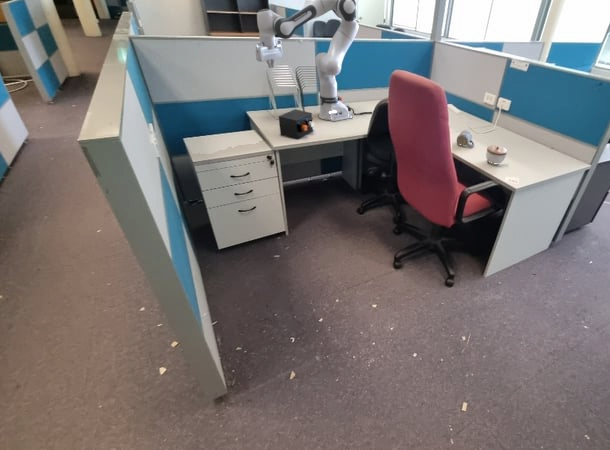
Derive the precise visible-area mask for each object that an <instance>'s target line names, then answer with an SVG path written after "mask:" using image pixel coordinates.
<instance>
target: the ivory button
mask: <svg viewBox="0 0 610 450" xmlns="http://www.w3.org/2000/svg"><path fill="white" fill-rule="evenodd" d="M308 125H309V127H313V128H314V126H315V122H314V121H312V122H311V121H310V122H309V124H308Z"/></svg>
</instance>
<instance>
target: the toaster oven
mask: <svg viewBox="0 0 610 450" xmlns="http://www.w3.org/2000/svg"><path fill="white" fill-rule="evenodd" d="M277 118H278V125H279V132H280V133H279V134H280V136H283V137H288V138H291V139H296V140H299V139H301V138H302V137H305V136H306V135H308V134H310V133H312V132H313V131H314V129H313V128H314V126H313V127H309V125H308V124H309V122H310V121H311V122H313V114H312V112H310V111H304V110H301V109H300V110H299V109H292V110H290V111H288V112H285V113H283V114H281V115H278V117H277ZM302 125H307V130H306V131H304V130H302Z"/></svg>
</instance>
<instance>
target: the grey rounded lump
mask: <svg viewBox="0 0 610 450" xmlns="http://www.w3.org/2000/svg"><path fill="white" fill-rule="evenodd" d="M472 139H473V134H472V132H470V131H469V130H463V131H461V132H460V133H459V134H458V136H457V137H456V143H457V145H459V144H461V145H459V146H460V147H464V146H463V145H465V146H467V147H468V148H474V146H475V142H474V141H473V140H472ZM471 143H472V144H471Z"/></svg>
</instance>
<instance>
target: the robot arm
mask: <svg viewBox="0 0 610 450" xmlns="http://www.w3.org/2000/svg"><path fill="white" fill-rule="evenodd" d="M357 5H358V4H357V2H356V0H305V1H304V5H303V7H302V8H301V9H300V10H299V11H297V12H296V13H294V14H292V15H291V16H289V17H284V16H282V15H280V14H278V13H276V12H274V11H273V10H271V8H262V9H259V10H258V11H257V13H256V21H257V28H258V31H259V32H258V33H259V34H258V36H259V42H258V43H257V44H256V45H255V58H256V61H257V62H261V63H263V62H266V64H267V67H268V68H269V69H272V68H274V67H275V61H276V60H277V59H282V58H283V56H284V52H283V51H284V50H283V46H282V44H283V42H282V39H283V40H288V39H291V37H293V36H294V34H295V32H296V30H298V29H299V28H301V27H302V26H304V25H305V24H306V23H308V22H310V21H312V20H314V19H316V18H320V17H321V16H324V15H325V14H326V13H328V12H330V11H332V12H333V14H334V15H335V16H336V17H337V18H339V19H340V20H341V21H340V24H339V26H338V28H337V30H336V31H335V33H334V35H333V36H332V38H331V40H330V42H329V47H328V50H327V52H318V54H316V56H315V59H314V62H315V65H316V71H317V76H318V82H319V92H320V93H319V94H320V95H319V105H320V107H319V114H318V118H320V119H322V120H326V121H331V122H336V121H343V120H348V119H352V118H353V115H355V116H359V115H364V114H366V115H367V114H373V113H372V112H373V111H364V112H363V111H362V112H359V113H356V112H355V110H354V108H352V107H350V106H349V105H345V104H344V103H343V102H342V101H343V97H341V96H339V95H338V83H337V80H336V76H338V75H339V74H340V73H341V70H342V64H343V61H344V58H345V56H346V54H347V52H348V50H349V48H350V46H352V44H353V42H354V40H355V38H356V36H357V34H358V31H359V29H360V28H359V27H360V25H359V23H358V20H356V19H357V10H358V6H357ZM276 35H277V37H279V38H280V39H281V40H280V39H278V38H276ZM350 112H352V114H353V115H352V114H351V113H350Z"/></svg>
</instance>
